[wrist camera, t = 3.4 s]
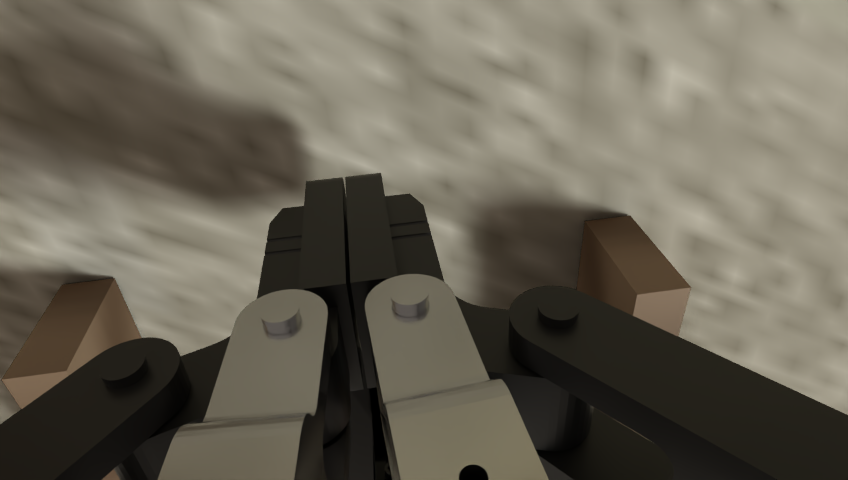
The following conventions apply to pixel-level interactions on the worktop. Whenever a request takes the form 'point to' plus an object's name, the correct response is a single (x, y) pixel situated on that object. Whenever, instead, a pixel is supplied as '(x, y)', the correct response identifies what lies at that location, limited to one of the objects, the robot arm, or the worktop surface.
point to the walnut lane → (113, 324)
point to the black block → (367, 436)
